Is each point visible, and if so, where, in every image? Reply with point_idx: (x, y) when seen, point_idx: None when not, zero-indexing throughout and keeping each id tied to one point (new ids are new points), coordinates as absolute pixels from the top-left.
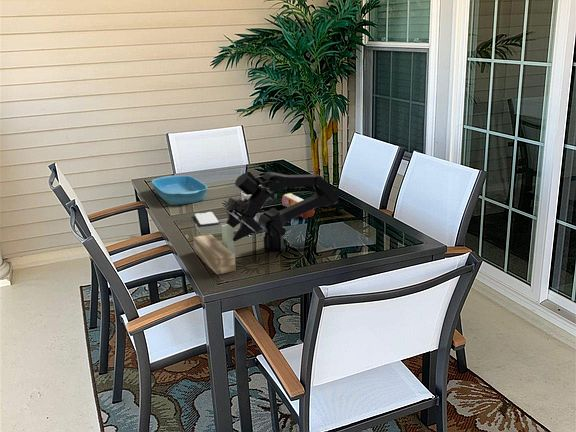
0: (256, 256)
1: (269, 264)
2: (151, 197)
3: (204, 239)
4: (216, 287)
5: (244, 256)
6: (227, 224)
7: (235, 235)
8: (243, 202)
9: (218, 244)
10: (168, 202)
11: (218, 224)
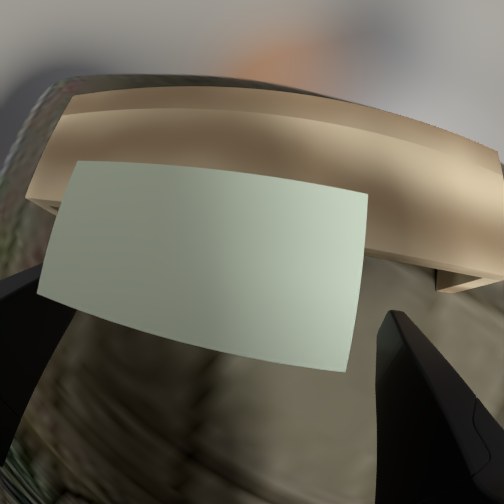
0: (158, 438)
1: (45, 397)
2: None
3: (437, 173)
4: (53, 113)
5: (203, 393)
6: (310, 334)
7: (32, 270)
8: None
9: None
10: None
11: None
